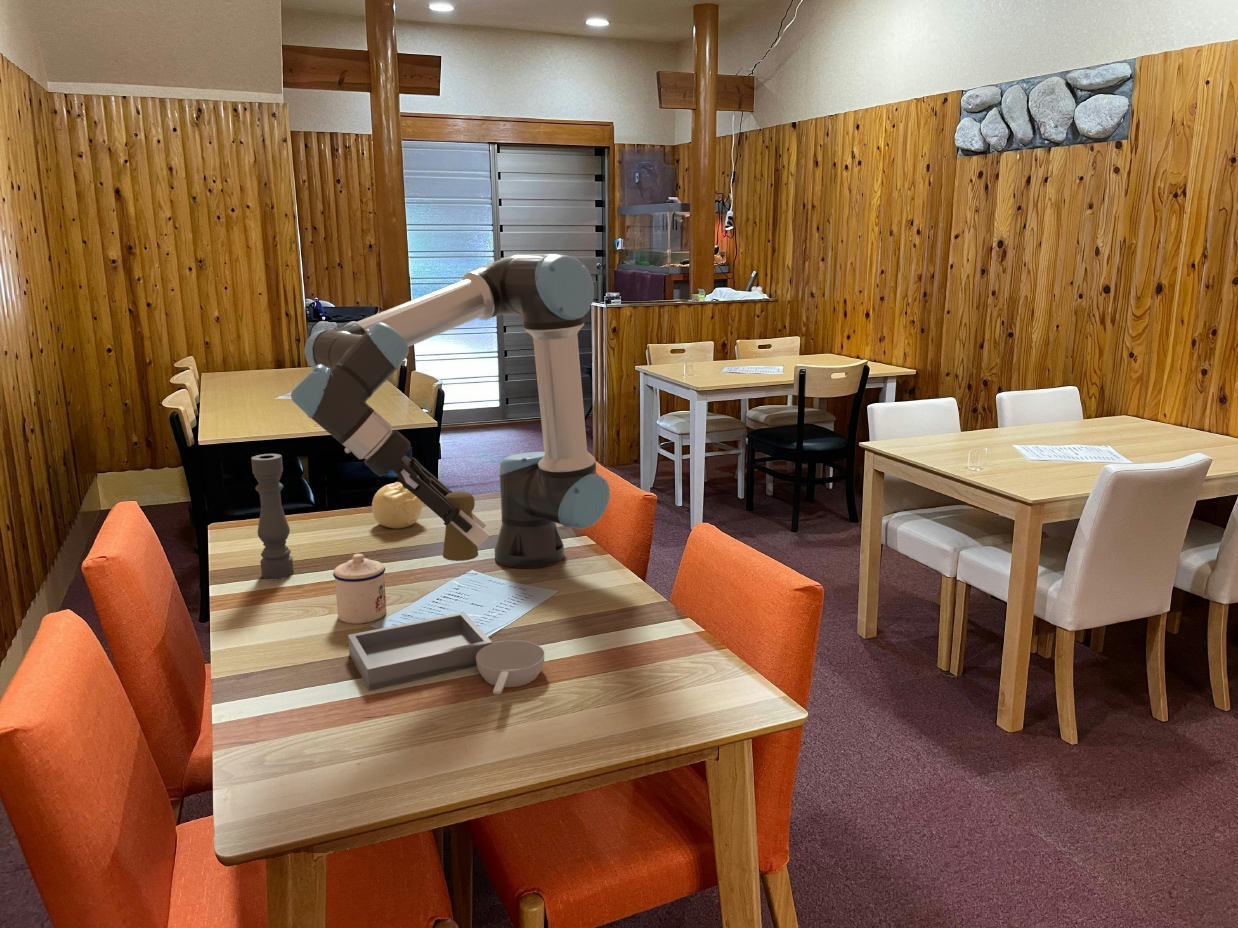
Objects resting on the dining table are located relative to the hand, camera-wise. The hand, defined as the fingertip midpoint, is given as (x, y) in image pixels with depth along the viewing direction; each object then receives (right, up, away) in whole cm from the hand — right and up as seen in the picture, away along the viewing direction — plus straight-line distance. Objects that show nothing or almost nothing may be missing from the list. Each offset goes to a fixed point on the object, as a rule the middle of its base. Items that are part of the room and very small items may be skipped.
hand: (482, 535), depth 151 cm
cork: (-4, -4, 0) cm, 5 cm away
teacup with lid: (-24, -15, +13) cm, 32 cm away
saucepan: (+6, -22, -14) cm, 27 cm away
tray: (-9, -20, -6) cm, 23 cm away
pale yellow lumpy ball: (-30, -3, +65) cm, 72 cm away
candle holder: (-47, -11, +32) cm, 58 cm away
